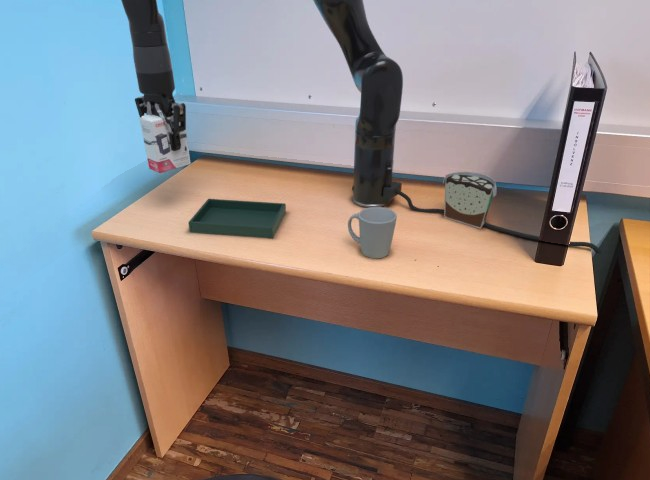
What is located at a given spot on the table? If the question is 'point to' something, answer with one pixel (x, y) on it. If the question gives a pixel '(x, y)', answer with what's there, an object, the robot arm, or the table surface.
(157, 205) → the table surface
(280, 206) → the desk tray
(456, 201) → the food container
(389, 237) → the cup
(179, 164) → the ink box
